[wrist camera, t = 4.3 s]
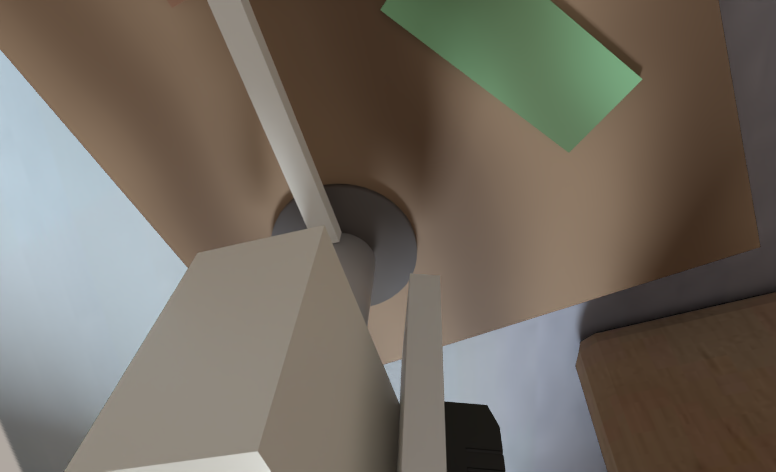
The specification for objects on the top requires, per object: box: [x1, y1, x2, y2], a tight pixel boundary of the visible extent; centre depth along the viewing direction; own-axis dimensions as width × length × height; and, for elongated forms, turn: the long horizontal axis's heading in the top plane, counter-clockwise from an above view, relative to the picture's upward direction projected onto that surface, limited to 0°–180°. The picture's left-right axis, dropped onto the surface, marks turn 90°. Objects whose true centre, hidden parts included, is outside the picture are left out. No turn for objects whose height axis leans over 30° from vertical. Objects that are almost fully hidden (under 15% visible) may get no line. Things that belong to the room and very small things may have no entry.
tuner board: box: [0, 0, 760, 365], centre depth 15 cm, size 16×16×3 cm
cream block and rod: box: [64, 0, 400, 472], centre depth 11 cm, size 3×14×9 cm, turn 16°
